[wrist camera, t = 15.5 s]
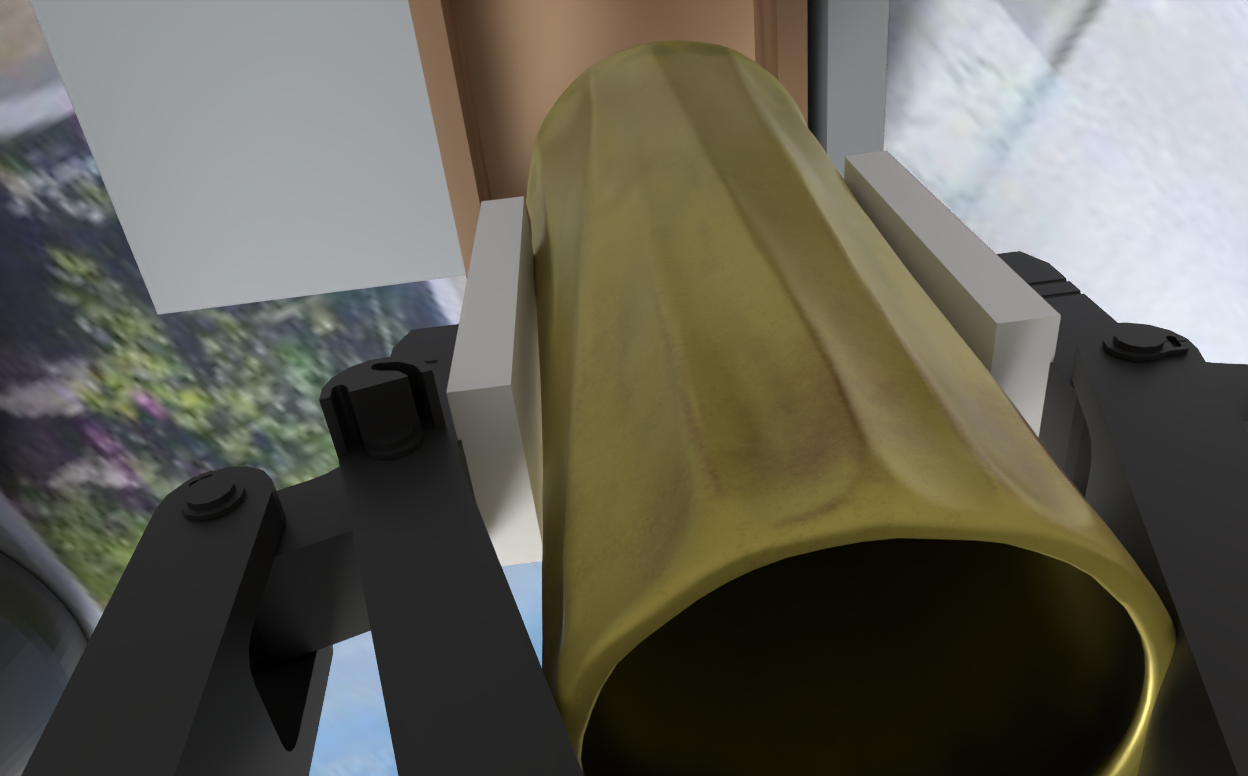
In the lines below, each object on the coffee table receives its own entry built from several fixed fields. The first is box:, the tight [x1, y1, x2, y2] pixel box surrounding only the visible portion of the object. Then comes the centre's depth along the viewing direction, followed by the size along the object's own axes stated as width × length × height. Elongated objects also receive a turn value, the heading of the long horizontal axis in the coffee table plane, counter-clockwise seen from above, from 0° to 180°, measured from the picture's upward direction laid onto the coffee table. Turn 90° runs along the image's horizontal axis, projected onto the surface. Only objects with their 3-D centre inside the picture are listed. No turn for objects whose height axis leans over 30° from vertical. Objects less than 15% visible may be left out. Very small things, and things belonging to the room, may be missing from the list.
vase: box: [526, 40, 1177, 776], centre depth 14 cm, size 6×6×14 cm
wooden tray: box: [408, 0, 808, 278], centre depth 25 cm, size 10×10×4 cm
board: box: [29, 0, 889, 314], centre depth 26 cm, size 22×10×5 cm, turn 96°
